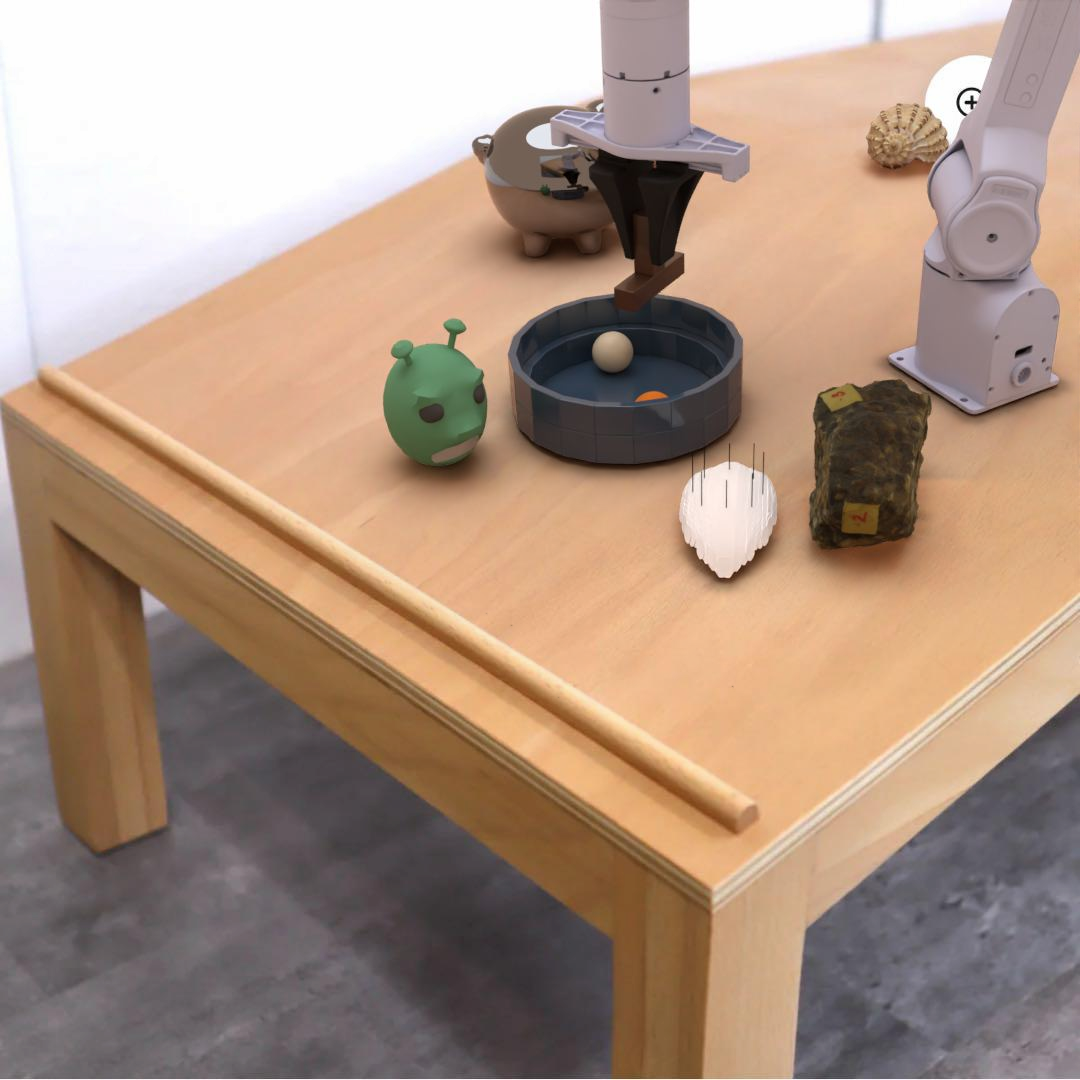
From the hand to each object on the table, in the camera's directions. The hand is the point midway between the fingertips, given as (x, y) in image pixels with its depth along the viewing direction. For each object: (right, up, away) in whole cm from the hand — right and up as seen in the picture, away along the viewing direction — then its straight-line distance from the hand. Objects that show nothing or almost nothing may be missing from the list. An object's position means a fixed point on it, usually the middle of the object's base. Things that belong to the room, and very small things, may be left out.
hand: (649, 256), depth 112 cm
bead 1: (-2, -6, +4) cm, 8 cm away
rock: (+13, -19, -11) cm, 25 cm away
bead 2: (0, -11, -3) cm, 12 cm away
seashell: (+26, +15, +35) cm, 46 cm away
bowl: (-1, -11, +2) cm, 11 cm away
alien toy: (-14, -15, -2) cm, 21 cm away
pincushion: (+4, -19, -11) cm, 22 cm away
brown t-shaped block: (0, -2, +1) cm, 3 cm away
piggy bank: (-5, +6, +25) cm, 26 cm away
